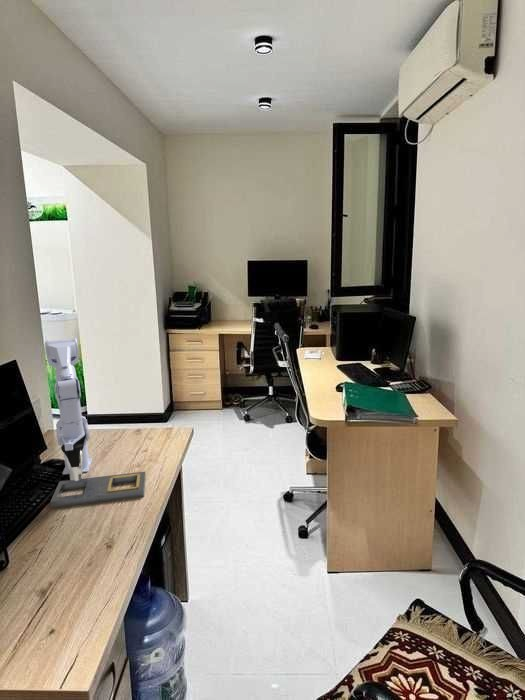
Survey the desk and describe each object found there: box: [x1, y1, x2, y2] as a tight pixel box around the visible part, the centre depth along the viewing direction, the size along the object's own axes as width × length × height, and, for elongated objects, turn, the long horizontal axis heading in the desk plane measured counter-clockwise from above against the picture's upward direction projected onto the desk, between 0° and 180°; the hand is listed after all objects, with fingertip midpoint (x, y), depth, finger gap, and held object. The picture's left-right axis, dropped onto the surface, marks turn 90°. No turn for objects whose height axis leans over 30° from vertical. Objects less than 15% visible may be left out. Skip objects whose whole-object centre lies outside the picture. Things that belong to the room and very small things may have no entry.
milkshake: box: [66, 448, 84, 481], centre depth 137 cm, size 4×5×10 cm
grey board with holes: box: [49, 471, 147, 509], centre depth 141 cm, size 12×26×2 cm, turn 101°
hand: (77, 462), depth 137 cm, fingers closed on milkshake, 4 cm apart
